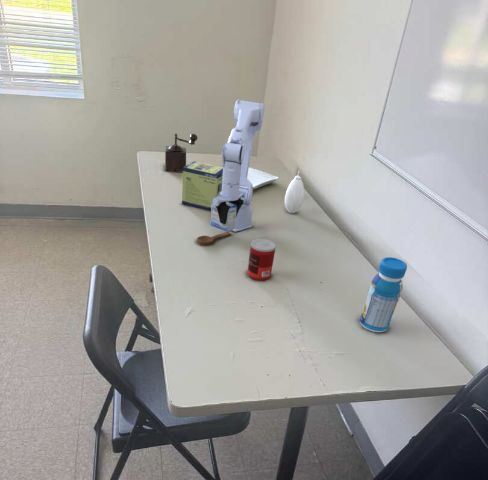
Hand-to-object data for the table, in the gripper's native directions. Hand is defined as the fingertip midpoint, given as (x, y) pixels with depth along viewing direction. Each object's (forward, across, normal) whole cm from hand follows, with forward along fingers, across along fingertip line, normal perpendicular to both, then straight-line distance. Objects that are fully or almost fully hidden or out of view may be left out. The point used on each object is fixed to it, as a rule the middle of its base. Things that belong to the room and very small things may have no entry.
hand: (227, 221), depth 152 cm
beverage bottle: (+10, +3, +60) cm, 61 cm away
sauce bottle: (+10, -48, -4) cm, 49 cm away
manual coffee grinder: (+9, -46, -73) cm, 87 cm away
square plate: (+10, -58, -43) cm, 73 cm away
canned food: (+10, +7, +21) cm, 24 cm away
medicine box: (+3, 0, -2) cm, 3 cm away
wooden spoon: (+9, -1, -6) cm, 11 cm away
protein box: (+10, -22, -33) cm, 41 cm away
